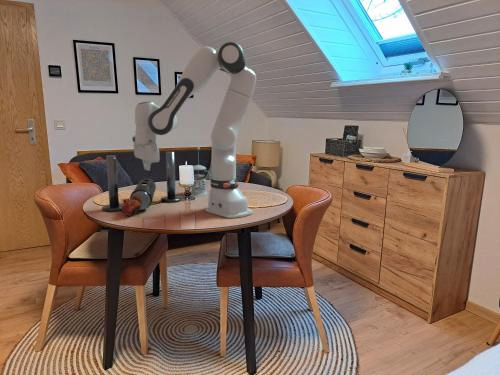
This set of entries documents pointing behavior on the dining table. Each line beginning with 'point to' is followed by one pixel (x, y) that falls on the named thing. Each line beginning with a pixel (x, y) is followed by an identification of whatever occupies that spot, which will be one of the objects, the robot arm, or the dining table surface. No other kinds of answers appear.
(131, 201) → the pomegranate
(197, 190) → the french press
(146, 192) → the muzzle brake
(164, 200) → the posts
